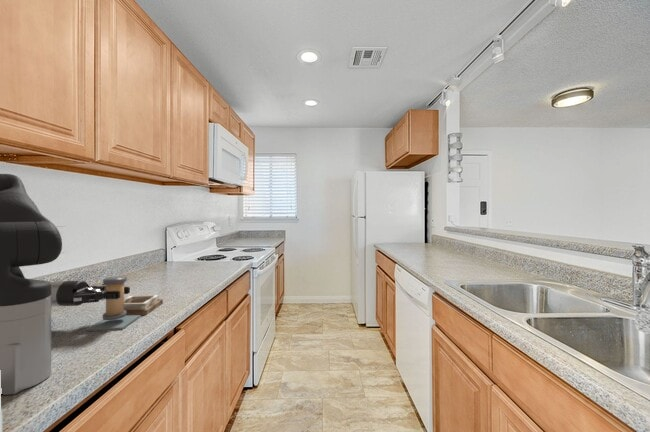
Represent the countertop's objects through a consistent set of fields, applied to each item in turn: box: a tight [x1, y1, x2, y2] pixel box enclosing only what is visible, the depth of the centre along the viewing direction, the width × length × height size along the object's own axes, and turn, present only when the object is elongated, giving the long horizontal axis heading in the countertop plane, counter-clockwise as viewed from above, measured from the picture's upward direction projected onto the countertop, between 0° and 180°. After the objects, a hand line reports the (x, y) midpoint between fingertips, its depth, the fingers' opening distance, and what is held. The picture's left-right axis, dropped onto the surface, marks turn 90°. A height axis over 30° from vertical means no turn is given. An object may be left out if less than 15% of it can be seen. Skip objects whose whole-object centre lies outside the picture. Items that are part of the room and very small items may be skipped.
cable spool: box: [102, 275, 128, 320], centre depth 88 cm, size 6×6×12 cm
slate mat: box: [86, 315, 142, 332], centre depth 88 cm, size 10×10×1 cm
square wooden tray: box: [124, 294, 164, 316], centre depth 101 cm, size 12×12×4 cm
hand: (124, 292), depth 88 cm, fingers closed on cable spool, 4 cm apart
